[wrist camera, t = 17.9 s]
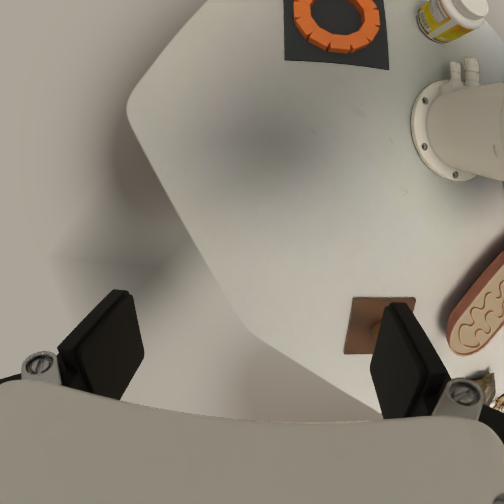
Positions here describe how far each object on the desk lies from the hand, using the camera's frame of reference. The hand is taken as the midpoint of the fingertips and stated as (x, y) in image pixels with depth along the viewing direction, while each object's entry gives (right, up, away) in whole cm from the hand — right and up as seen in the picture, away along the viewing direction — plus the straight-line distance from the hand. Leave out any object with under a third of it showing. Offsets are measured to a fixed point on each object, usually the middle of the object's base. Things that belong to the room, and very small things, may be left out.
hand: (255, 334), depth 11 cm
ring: (+9, +29, +16) cm, 35 cm away
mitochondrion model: (+35, -1, +25) cm, 43 cm away
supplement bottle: (+22, +31, +15) cm, 41 cm away
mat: (+10, +30, +16) cm, 35 cm away
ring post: (+17, -7, +29) cm, 35 cm away
